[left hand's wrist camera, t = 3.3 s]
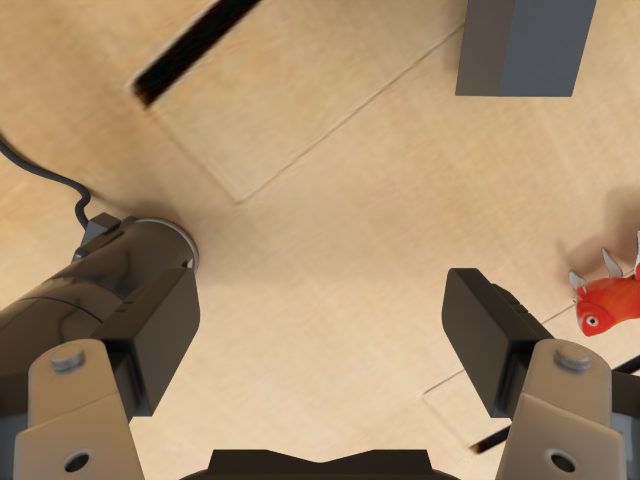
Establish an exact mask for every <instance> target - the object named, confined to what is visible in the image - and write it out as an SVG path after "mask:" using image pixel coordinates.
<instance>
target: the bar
mask: <svg viewBox="0 0 640 480" xmlns="http://www.w3.org/2000/svg"><path fill="white" fill-rule="evenodd" d="M596 1H597V0H468V7H467V14H466V21H465V28H464V35H463V42H462V49H461V56H460V63H459V70H458V78H457V85H456V92H455V95H456V96H500V97H571V96H572V93H573V89H574V85H575V81H576V77H577V73H578V70H579V66H580V62H581V58H582V54H583V50H584V47H585V43H586V39H587V35H588V31H589V27H590V24H591V20H592V16H593V12H594V8H595V4H596Z"/></svg>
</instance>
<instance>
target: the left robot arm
mask: <svg viewBox="0 0 640 480" xmlns="http://www.w3.org/2000/svg"><path fill="white" fill-rule="evenodd" d="M0 151H1V152H2V153H3V154H4V155H5V156H6V157H7V158H8V159H9V160H11V161H12V162H13V163H15V164H16V165H18V166H19V167H21V168H23V169H25V170H27V171H29V172H31V173H34V174H36V175H39V176H42V177H45V178H48V179H51V180H54V181H58V182H61V183H63V184H66V185H68V186H71V187H73V188H74V189H76V190H77V191H78V192H79V193H80V194H81V195H82V199H81V200H80V201H78V203H77V204H76V206H75V213H76V216H77V219H78V220H79V222H80V223H81V225H82V226H83V228H84V229H85V234H84V237H83V240H82V242H81V245H80V247H79V248H77V250H76V251H75V253H74V256H73V259H72V261H71V264H70V265H69V266H67V267H66V268H64V269H63V270H61V271H60V272H58V273H57V274H55V275H54V276H52V277H51V278H49V279H48V280H46V281H45V282H43V283H42V284H40V285H39V286H37V287H36V288H34V289H33V290H31V291H30V292H28V293H27V294H25V295H24V296H22V297H21V298H19V299H18V300H16V301H15V302H13V303H12V304H10V305H9V306H7V307H5V308H4V309H2V310H1V311H0V480H145V478H144V475H143V471H142V468H141V465H140V461H139V458H138V455H137V451H136V448H135V444H134V441H133V438H132V434H131V431H130V428H129V423H130V421H131V419H132V418H133V416H152V415H153V413H154V412H155V410H156V408H157V406H158V404H159V402H160V400H161V398H162V396H163V395H164V393H165V391H166V389H167V387H168V385H169V383H170V381H171V379H172V378H173V376H174V374H175V372H176V370H177V368H178V366H179V364H180V362H181V361H182V359H183V357H184V355H185V353H186V351H187V349H188V347H189V345H190V344H191V342H192V340H193V338H194V336H195V334H196V332H197V330H198V327H199V323H200V307H199V301H198V294H197V287H196V281H195V273H196V271H197V268H198V262H199V258H198V252H197V248H196V246H195V244H194V242H193V240H192V239H191V237H190V236H189V235H188V234H187V233H186V232H185V231H184V230H183V229H182V228H181V227H179V226H178V225H176V224H174V223H173V222H170V221H168V220H165V219H161V218H154V217H148V218H142V219H137V218H135V217H133V216H129V217H127V218H125V219H124V220H122V221H121V220H119V219H117V218H115V217H113V216H111V215H109V214H107V213H105V212H104V213H102V214H100V215H98V216H96V217H94V218H92V219H90V220H88V219H87V217H86V215H85V213H84V207H85V206H86V205H87V204H88V203H89V202H90V199H91V196H90V194H89V192H88V191H87V190H86V188H85V187H83V186H82V185H81V184H79V183H77V182H75V181H73V180H70V179H68V178H66V177H63V176H60V175H58V174H55V173H52V172H49V171H46V170H43V169H41V168H38V167H36V166H33V165H31V164H29V163H27V162H26V161H24V160H22V159H21V158H20V157H18V156H17V155H16V154H14V153H13V152H12V151H11V150H10V149H9V148H8V147H7V146H6V145H5V144H4V143H3V142H2V141H1V140H0ZM442 324H443V328H444V331H445V333H446V335H447V337H448V339H449V341H450V342H451V344H452V346H453V348H454V350H455V352H456V354H457V356H458V357H459V359H460V361H461V363H462V365H463V367H464V369H465V370H466V372H467V374H468V376H469V378H470V380H471V382H472V384H473V385H474V387H475V389H476V391H477V393H478V395H479V397H480V398H481V400H482V402H483V404H484V406H485V408H486V410H487V412H488V413H489V415H490V417H491V418H510V419H511V421H512V424H511V428H510V431H509V434H508V438H507V441H506V444H505V448H504V451H503V455H502V458H501V461H500V465H499V468H498V471H497V475H496V478H495V480H640V376H635V375H630V374H626V373H621V372H616V371H611V369H610V367H609V365H608V364H607V362H606V361H605V360H604V359H603V358H602V357H600V356H599V355H598V354H596V353H595V352H593V351H592V350H590V349H588V348H586V347H584V346H582V345H579V344H576V343H574V342H570V341H566V340H562V339H555V338H554V337H553V336H552V335H551V334H550V333H549V332H548V331H547V330H546V329H545V328H544V327H543V326H542V325H541V324H540V323H539V322H538V321H537V319H536V318H535V317H534V316H533V315H532V314H531V313H528V310H527V309H526V308H525V307H524V306H523V305H520V302H519V301H518V300H517V299H516V298H515V297H514V296H513V295H512V294H511V293H510V292H508V291H507V290H505V289H503V288H501V287H500V286H498V285H496V284H491V283H490V282H489V281H488V280H487V279H486V278H485V277H484V275H483V274H482V273H481V272H480V271H479V270H478V269H476V268H451V269H450V270H449V272H448V275H447V281H446V287H445V294H444V300H443V307H442ZM180 480H460V479H458V478H456V477H454V476H452V475H449V474H447V473H444V472H441V471H439V470H435V469H432V466H431V463H430V460H429V456H428V453H427V450H371V451H367V452H363V453H359V454H355V455H351V456H347V457H343V458H340V459H336V460H332V461H328V462H323V463H317V462H312V461H308V460H304V459H300V458H297V457H293V456H289V455H285V454H281V453H277V452H273V451H269V450H213V453H212V456H211V460H210V463H209V466H208V469H205V470H201V471H199V472H196V473H193V474H191V475H188V476H186V477H184V478H182V479H180Z"/></svg>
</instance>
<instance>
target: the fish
mask: <svg viewBox="0 0 640 480" xmlns="http://www.w3.org/2000/svg"><path fill="white" fill-rule="evenodd" d="M637 248H638V256H637V260H636V265H635V269H634V273H633V275H631V276H630V277H628V278H622V276H623V273H622V270H621V269H620V267H619V266H618V265H617V264H616V263H615V262H614V260H613V259H612V258H611V257H610V256H609V254H608V253H607V252H606V250H605V249H602V251H603V256H604V260H605V263H606V266H607V268H608V271H609V278H603V279H598V280H595V281H592V282H589V283H588V284H586V281H585V279H583V278H581V277H580V276H578V275H577V274H575V273H574V272H573V271H571V272H570V273H569V281H570V284H571V286H572V287H573V288H574V289H575V290H576V291H577V294H578V296H577V298H576V301H574V300H573V301H574V302H575V303H576V316H577V321H578V325H579V327H580V329H581V331H582V332H583V333H584V334H585V336H588V337H590V336H593V335H597V334H600V333H603V332H605V331H607V330H608V329H610V328H611V327H613V326H614V325H616V324H618V323H620V322H622V321H625V320H628V319H636V318H640V231H638V234H637Z"/></svg>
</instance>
